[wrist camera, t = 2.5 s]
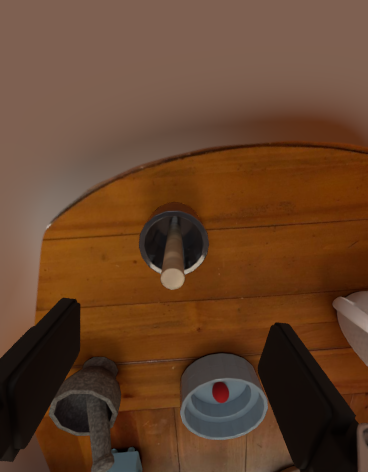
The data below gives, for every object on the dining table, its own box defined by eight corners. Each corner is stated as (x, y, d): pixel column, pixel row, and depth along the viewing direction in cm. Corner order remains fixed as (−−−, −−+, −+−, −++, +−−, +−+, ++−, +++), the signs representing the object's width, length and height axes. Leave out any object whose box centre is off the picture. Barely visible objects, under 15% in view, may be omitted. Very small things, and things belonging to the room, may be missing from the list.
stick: (167, 235, 28) (159, 288, 15) (169, 222, 28) (162, 266, 15) (180, 236, 29) (182, 291, 15) (181, 224, 28) (186, 269, 15)
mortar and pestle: (62, 374, 36) (8, 467, 24) (89, 339, 34) (45, 424, 22) (116, 400, 38) (90, 497, 27) (144, 369, 36) (130, 460, 25)
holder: (145, 250, 30) (136, 272, 23) (150, 198, 27) (142, 205, 21) (196, 256, 30) (202, 280, 23) (205, 205, 28) (214, 215, 21)
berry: (209, 389, 37) (212, 406, 35) (212, 376, 37) (215, 394, 34) (225, 390, 38) (229, 407, 35) (228, 378, 37) (232, 395, 34)
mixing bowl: (175, 405, 39) (175, 437, 34) (186, 347, 35) (188, 374, 30) (246, 410, 40) (255, 442, 35) (264, 354, 36) (278, 382, 31)
